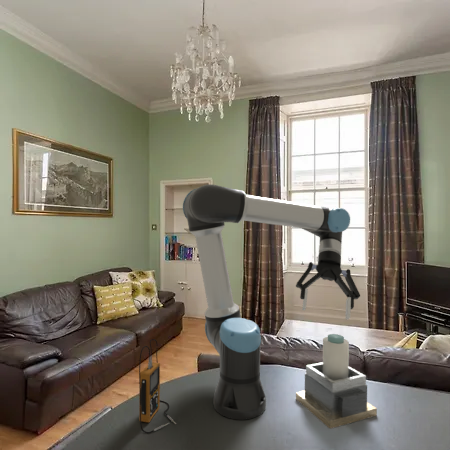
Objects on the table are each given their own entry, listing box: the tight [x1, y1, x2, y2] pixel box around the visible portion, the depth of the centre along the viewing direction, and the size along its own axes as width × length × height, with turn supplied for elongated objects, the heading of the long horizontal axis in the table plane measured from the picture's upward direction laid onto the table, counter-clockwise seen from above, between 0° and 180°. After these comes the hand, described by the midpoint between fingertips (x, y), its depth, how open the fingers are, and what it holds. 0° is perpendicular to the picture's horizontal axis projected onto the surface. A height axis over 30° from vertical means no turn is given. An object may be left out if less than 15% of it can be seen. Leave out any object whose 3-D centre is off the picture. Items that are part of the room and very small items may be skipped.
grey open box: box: [295, 361, 378, 430], centre depth 92 cm, size 15×16×10 cm
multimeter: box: [138, 338, 177, 434], centre depth 87 cm, size 15×10×20 cm
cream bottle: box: [322, 333, 350, 381], centre depth 92 cm, size 7×7×12 cm
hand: (325, 313), depth 102 cm, fingers open, 13 cm apart
